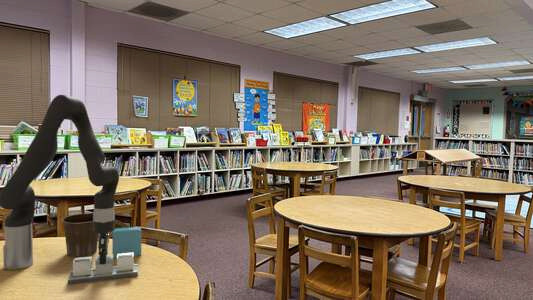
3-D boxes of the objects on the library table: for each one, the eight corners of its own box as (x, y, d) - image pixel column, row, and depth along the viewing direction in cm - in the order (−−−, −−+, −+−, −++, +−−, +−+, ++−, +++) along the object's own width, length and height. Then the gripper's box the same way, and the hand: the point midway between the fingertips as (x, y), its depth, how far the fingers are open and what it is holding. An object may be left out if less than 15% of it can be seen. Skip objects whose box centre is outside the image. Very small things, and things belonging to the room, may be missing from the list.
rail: (67, 284, 128) (67, 264, 128) (71, 275, 136) (70, 256, 135) (137, 276, 137) (137, 257, 136) (137, 268, 144) (137, 250, 144)
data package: (140, 251, 163) (141, 226, 162) (141, 255, 159) (141, 229, 158) (112, 254, 159) (112, 228, 158) (112, 258, 154) (112, 231, 154)
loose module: (95, 275, 133) (95, 259, 133) (96, 270, 137) (96, 255, 137) (112, 273, 135) (112, 258, 135) (113, 269, 139) (113, 253, 139)
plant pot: (101, 256, 156) (100, 221, 155) (59, 261, 150) (58, 224, 148) (102, 245, 171) (102, 212, 170) (64, 248, 164) (64, 214, 163)
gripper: (95, 214, 140) (94, 254, 141) (91, 224, 127) (90, 268, 128) (115, 213, 143) (114, 252, 144) (113, 223, 129) (113, 266, 130)
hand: (103, 259), depth 136 cm, fingers open, 8 cm apart
